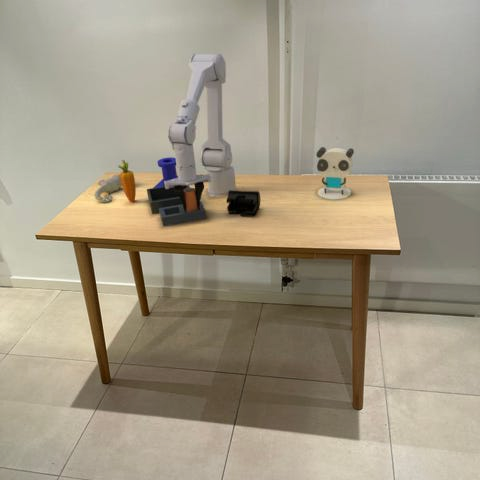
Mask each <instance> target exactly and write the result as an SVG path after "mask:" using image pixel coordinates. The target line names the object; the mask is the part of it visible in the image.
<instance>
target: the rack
mask: <svg viewBox="0 0 480 480" xmlns="http://www.w3.org/2000/svg"><path fill="white" fill-rule="evenodd" d="M158 214H159V217H160V221H161V224H162V227H169V226H173V225H179V224H185V223H191V222H197V221H203V220H207V210H206V209H205V206H204V204H203V202H202V200H200V206H199V207H198V210H194V211H188V212H186V209H184V208H183V205H182V204H181V205H175V206H169V207H163V208H159V213H158Z"/></svg>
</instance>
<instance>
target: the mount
mask: <svg viewBox="0 0 480 480" xmlns="http://www.w3.org/2000/svg"><path fill="white" fill-rule="evenodd" d="M157 167H159V168H161V173H162V179H161V180H160V181H159V182H158V183H156V185H154V186H153V187H152V188H157V187H163V186H165V183H164V181H168V180H171V179H175V178H178V172H177V165H176V158H175V157H173V156H172V157H163V158H160V159H158V160H157Z"/></svg>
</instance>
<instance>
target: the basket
mask: <svg viewBox="0 0 480 480" xmlns="http://www.w3.org/2000/svg"><path fill="white" fill-rule="evenodd" d="M182 188H183V190H184V189H186V188H191V187H190V185H185V186H182ZM146 193H147V199H148V203H149V207H150V210H151V215H156V214H157V215H158V214H160V213H159V208H163V207H169V206H175V205H181V204H182V202H181V199H180V198H179V196H178V194H177V193H176V191H175V189H174V187H172V188H169V189H166V188H165V186H163V187H157V188H153V187H151V188H150V187H149V188H146Z"/></svg>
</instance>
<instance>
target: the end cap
mask: <svg viewBox="0 0 480 480" xmlns="http://www.w3.org/2000/svg"><path fill="white" fill-rule="evenodd" d="M226 204H228V205H227V207H226V209H227V212H228V213H227V214H228V215H234V216H235V215H236V216H237V215H239V216H241V217H246V218H247V217H248V218H249V217H250V218H255V217H256V216H257V214H258V211H259V210H260V207H261V193H260V191H258V190H237V189H236V190H229V191H228V195H227V198H226Z"/></svg>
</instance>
